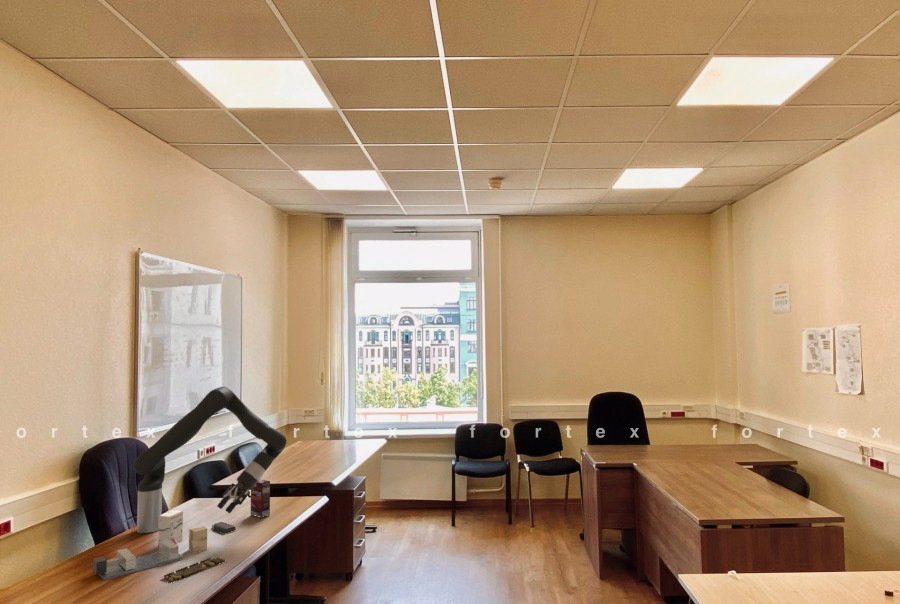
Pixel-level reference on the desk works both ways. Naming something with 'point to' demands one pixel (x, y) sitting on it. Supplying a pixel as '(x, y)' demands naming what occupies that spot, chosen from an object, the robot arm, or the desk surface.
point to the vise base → (147, 560)
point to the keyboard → (192, 569)
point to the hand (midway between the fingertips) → (223, 509)
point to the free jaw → (115, 562)
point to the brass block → (197, 539)
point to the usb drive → (223, 527)
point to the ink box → (171, 526)
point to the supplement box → (260, 498)
